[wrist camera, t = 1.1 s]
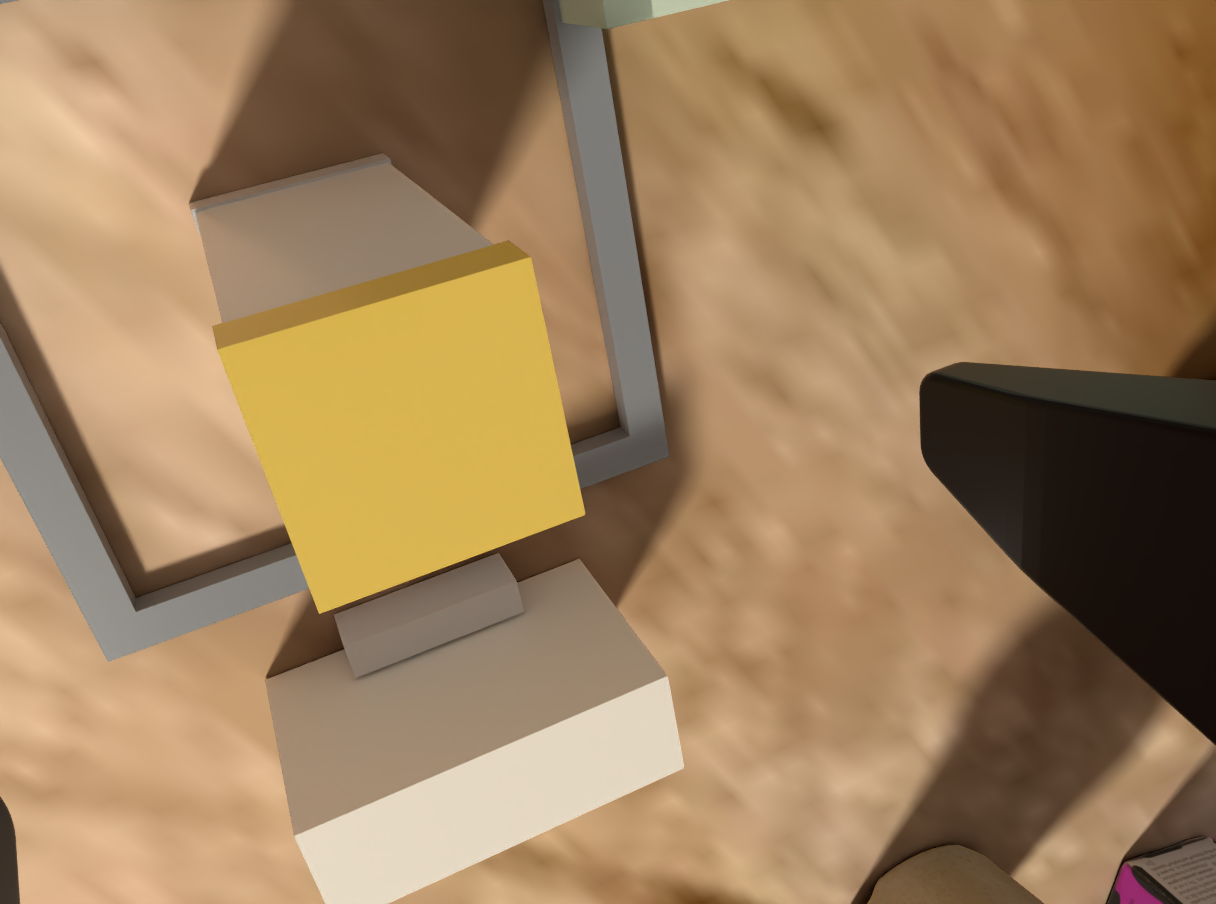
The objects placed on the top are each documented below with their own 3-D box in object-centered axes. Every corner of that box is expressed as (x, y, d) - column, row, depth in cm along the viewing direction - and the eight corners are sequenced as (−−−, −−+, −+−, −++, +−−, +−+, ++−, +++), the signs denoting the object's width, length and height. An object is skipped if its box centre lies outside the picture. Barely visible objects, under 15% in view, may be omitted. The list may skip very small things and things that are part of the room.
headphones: (487, -602, 14) (614, -803, 11) (690, 634, 25) (788, 753, 21) (-514, -546, 11) (-840, -803, 7) (207, 837, 22) (223, 1017, 18)
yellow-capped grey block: (384, 149, 18) (531, 257, 11) (433, 330, 19) (585, 515, 13) (184, 200, 17) (217, 349, 10) (253, 385, 19) (319, 614, 12)
